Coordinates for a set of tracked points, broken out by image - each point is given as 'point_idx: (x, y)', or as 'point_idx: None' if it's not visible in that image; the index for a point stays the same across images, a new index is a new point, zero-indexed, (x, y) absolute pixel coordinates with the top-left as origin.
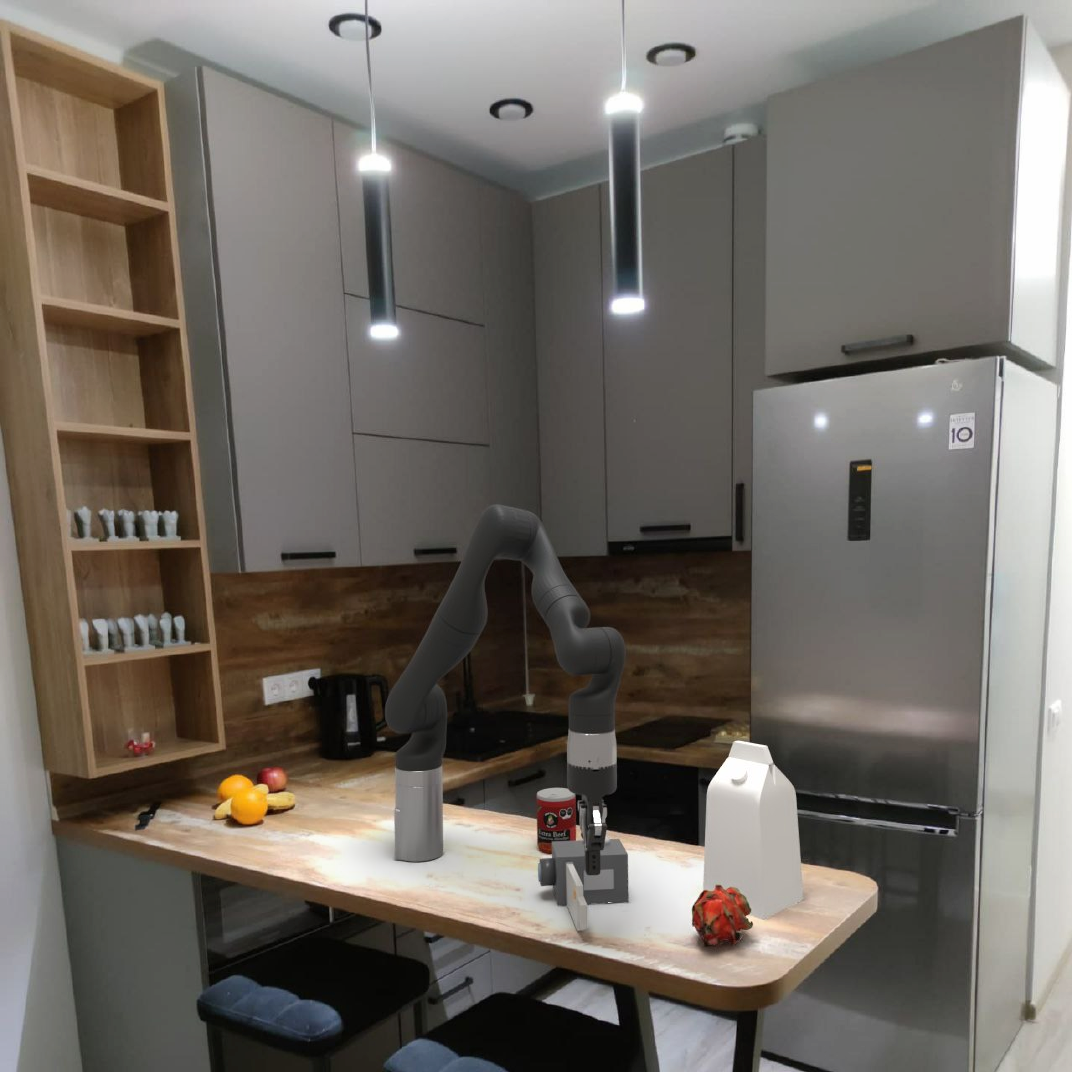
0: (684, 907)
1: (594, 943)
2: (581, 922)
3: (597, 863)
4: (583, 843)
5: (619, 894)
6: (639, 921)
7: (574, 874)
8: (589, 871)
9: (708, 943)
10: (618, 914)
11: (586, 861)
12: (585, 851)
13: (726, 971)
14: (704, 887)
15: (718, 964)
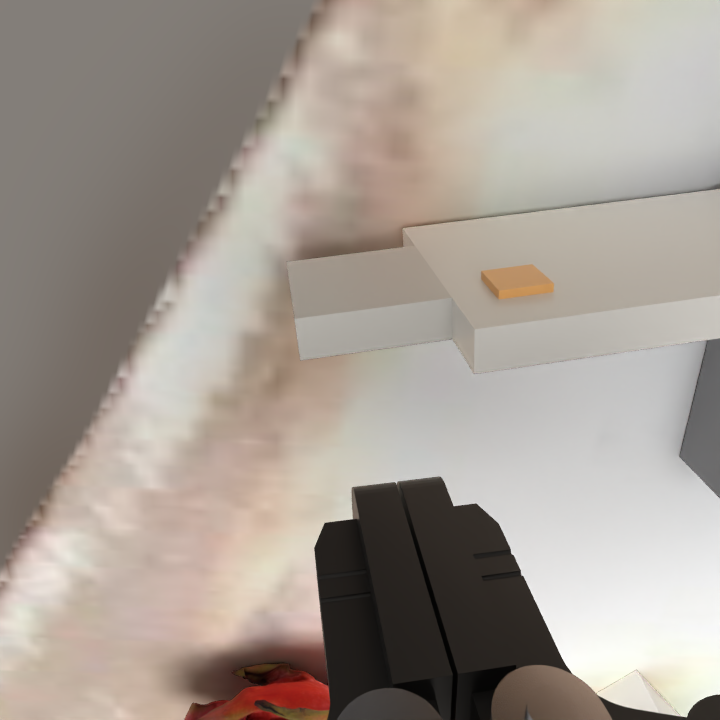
0: (576, 622)
1: (286, 300)
2: (290, 278)
3: (325, 657)
4: (524, 718)
5: (710, 445)
6: (490, 486)
7: (702, 318)
8: (320, 535)
9: (193, 703)
10: (576, 414)
11: (373, 578)
12: (425, 660)
13: (61, 706)
14: (650, 708)
15: (113, 690)
